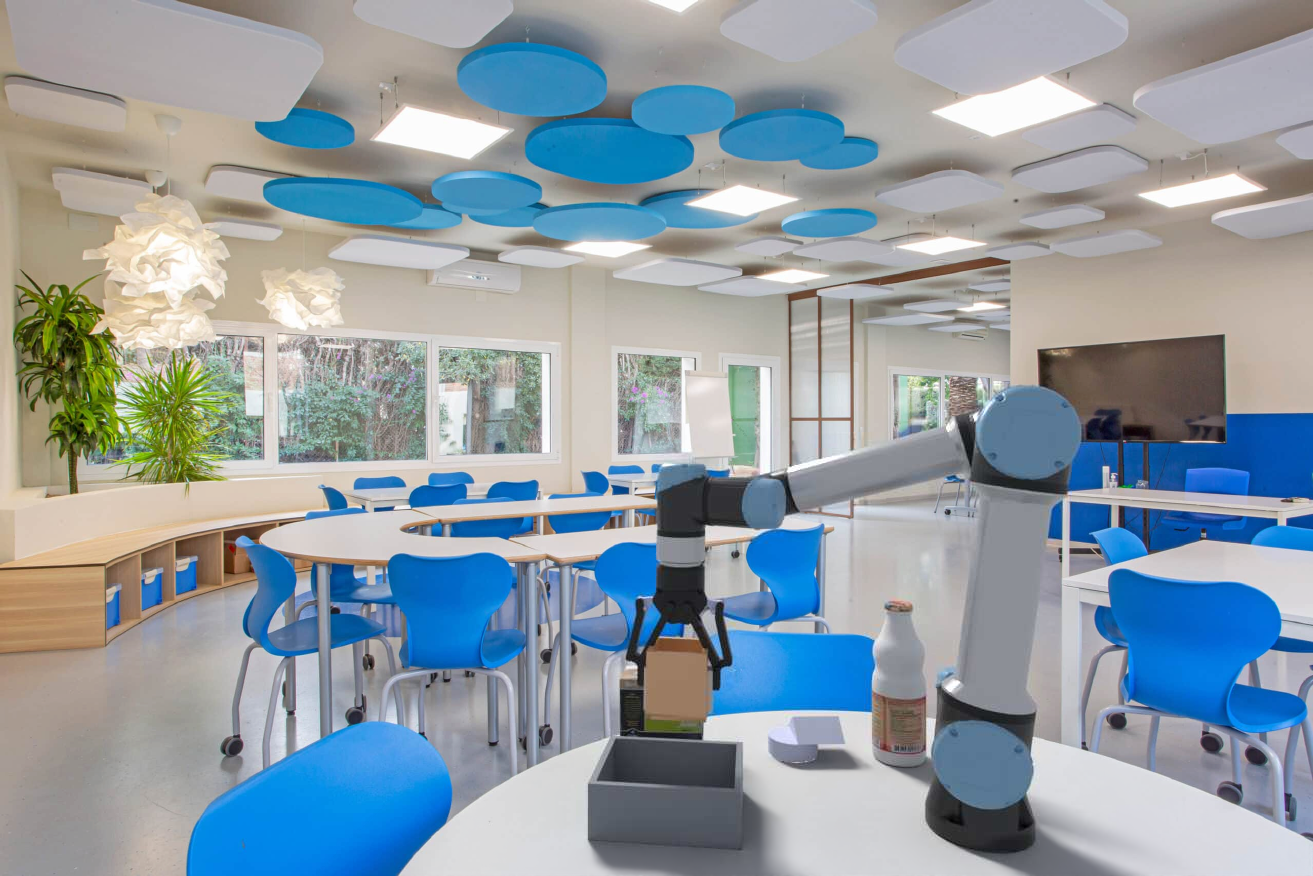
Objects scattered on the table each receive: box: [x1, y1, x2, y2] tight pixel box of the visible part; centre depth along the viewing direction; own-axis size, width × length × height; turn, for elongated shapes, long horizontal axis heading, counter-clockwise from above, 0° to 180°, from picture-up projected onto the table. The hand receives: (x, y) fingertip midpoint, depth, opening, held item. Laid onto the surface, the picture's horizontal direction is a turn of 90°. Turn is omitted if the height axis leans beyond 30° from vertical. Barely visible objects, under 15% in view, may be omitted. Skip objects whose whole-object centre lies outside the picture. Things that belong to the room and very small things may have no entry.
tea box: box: [619, 663, 705, 740], centre depth 140 cm, size 15×10×15 cm
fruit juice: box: [871, 600, 927, 768], centre depth 137 cm, size 9×9×28 cm
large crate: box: [587, 735, 744, 851], centre depth 116 cm, size 22×18×8 cm
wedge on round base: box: [767, 715, 846, 763], centre depth 139 cm, size 9×7×13 cm
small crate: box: [645, 636, 711, 723], centre depth 116 cm, size 9×9×10 cm
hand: (678, 708), depth 116 cm, fingers closed on small crate, 9 cm apart
